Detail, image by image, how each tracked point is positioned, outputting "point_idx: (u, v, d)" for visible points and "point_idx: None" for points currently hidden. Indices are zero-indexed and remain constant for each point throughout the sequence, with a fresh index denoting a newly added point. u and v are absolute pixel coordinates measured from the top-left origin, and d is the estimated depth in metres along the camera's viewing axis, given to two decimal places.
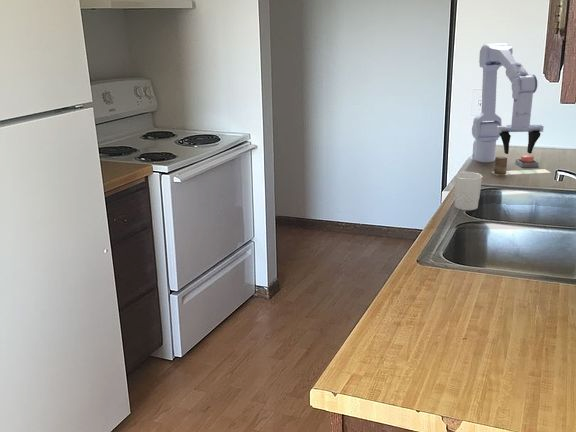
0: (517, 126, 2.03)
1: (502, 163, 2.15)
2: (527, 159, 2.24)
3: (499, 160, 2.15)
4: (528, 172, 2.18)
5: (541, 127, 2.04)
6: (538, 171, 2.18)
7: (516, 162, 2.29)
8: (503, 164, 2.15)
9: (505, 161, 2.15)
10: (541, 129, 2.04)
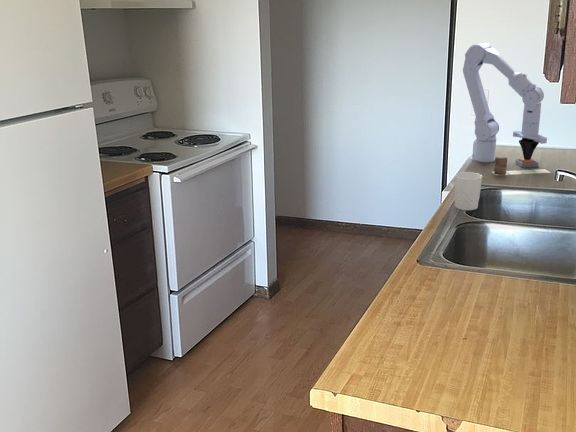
0: (521, 133, 2.24)
1: (502, 163, 2.15)
2: (527, 162, 2.25)
3: (499, 160, 2.15)
4: (528, 172, 2.18)
5: (541, 139, 2.17)
6: (538, 171, 2.18)
7: (516, 162, 2.29)
8: (503, 164, 2.15)
9: (505, 161, 2.15)
10: (541, 141, 2.18)
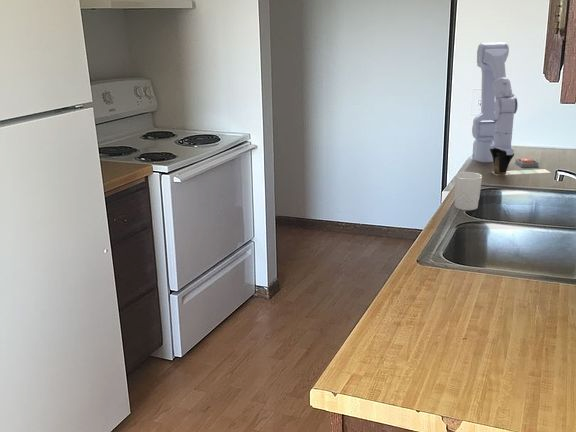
0: None
1: None
2: (527, 162, 2.25)
3: None
4: (528, 172, 2.18)
5: (506, 150, 2.09)
6: (538, 171, 2.18)
7: (516, 162, 2.29)
8: None
9: None
10: (506, 152, 2.09)
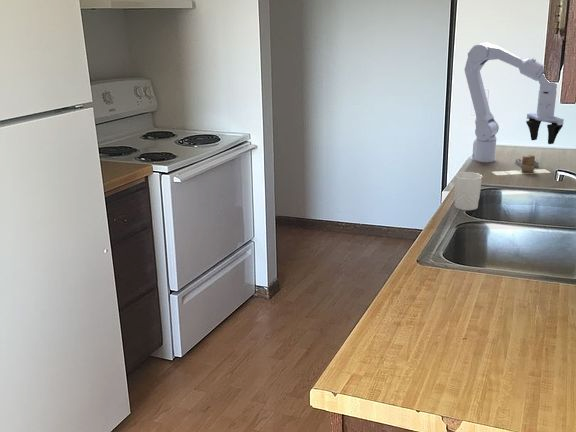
0: (536, 115, 2.20)
1: (530, 161, 2.15)
2: None
3: (527, 159, 2.15)
4: None
5: (557, 120, 2.14)
6: (538, 171, 2.18)
7: (516, 162, 2.29)
8: (531, 162, 2.15)
9: (533, 160, 2.15)
10: (558, 122, 2.14)
